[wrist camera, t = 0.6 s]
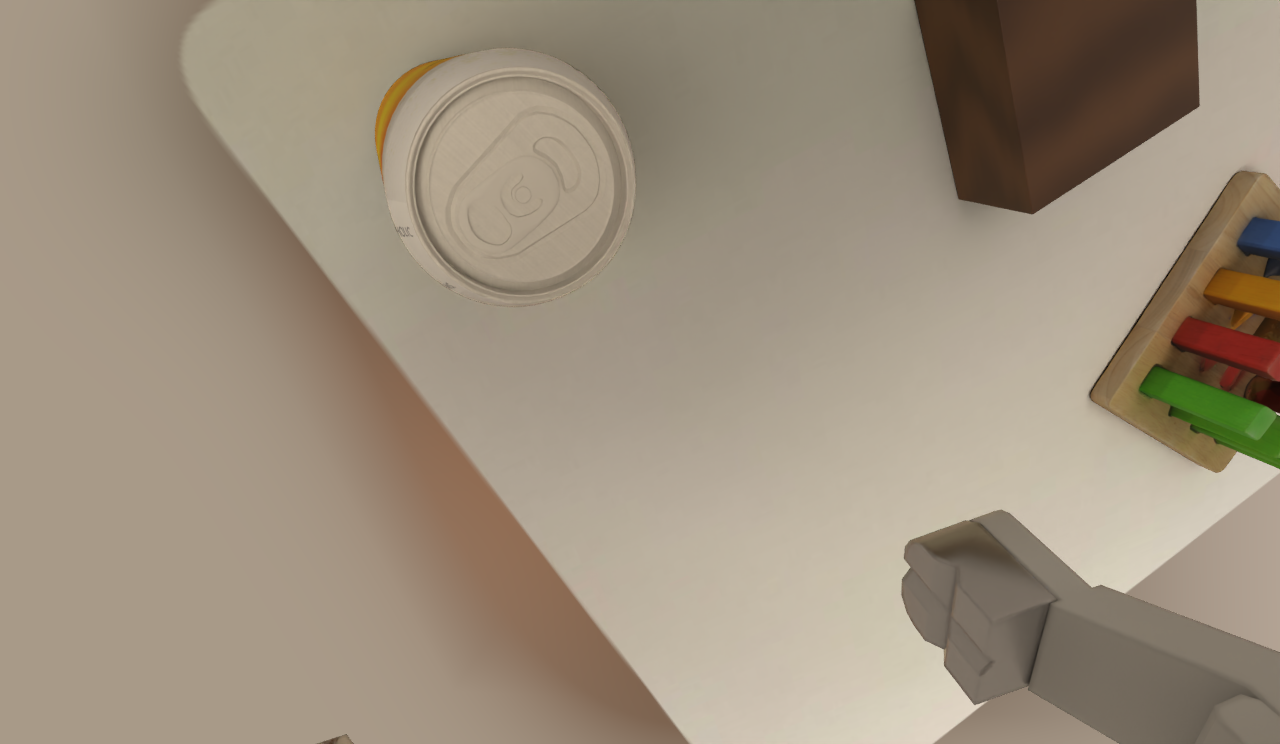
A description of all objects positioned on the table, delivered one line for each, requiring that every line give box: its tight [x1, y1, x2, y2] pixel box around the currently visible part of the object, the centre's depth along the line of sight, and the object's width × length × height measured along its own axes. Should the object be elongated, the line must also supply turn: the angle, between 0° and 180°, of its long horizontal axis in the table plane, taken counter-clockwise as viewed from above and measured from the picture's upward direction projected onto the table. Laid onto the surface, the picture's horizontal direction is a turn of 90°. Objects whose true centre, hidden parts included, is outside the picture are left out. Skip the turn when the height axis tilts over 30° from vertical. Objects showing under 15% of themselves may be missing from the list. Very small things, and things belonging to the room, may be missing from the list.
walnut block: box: [915, 0, 1200, 214], centre depth 35 cm, size 11×11×5 cm
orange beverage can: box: [375, 48, 636, 307], centre depth 23 cm, size 6×6×15 cm
